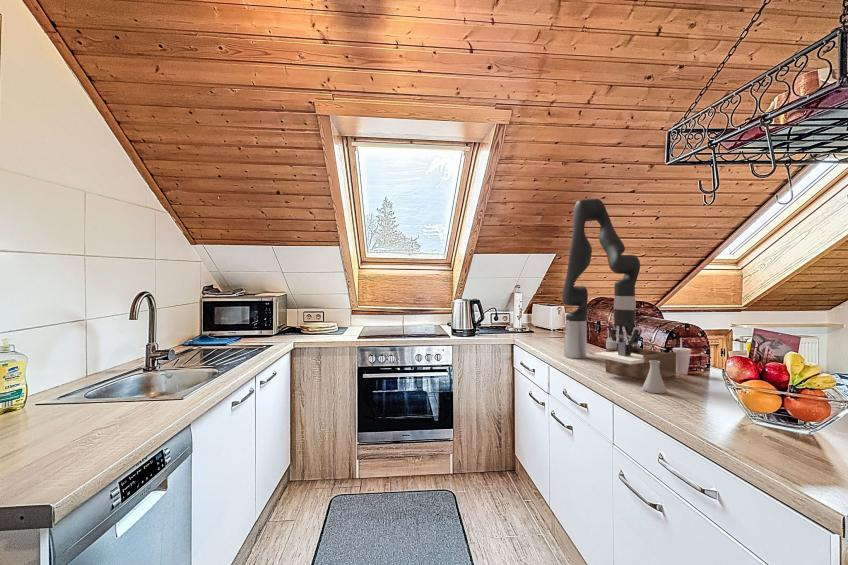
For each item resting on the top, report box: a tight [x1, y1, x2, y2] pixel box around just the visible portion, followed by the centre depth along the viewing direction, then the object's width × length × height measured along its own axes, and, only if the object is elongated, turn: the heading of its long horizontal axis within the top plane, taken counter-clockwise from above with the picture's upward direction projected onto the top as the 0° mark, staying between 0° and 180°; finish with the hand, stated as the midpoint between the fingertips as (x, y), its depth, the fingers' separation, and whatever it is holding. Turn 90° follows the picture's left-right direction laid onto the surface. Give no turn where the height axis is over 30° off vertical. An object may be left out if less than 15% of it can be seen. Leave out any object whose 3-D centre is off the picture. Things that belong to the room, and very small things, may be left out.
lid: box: [593, 340, 645, 364], centre depth 161 cm, size 17×13×6 cm
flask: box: [641, 360, 668, 394], centre depth 142 cm, size 7×7×10 cm
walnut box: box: [605, 345, 677, 383], centre depth 165 cm, size 18×16×10 cm
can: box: [605, 336, 625, 349], centre depth 183 cm, size 8×8×12 cm
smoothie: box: [672, 337, 692, 376], centre depth 167 cm, size 6×6×14 cm
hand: (624, 353), depth 161 cm, fingers closed on lid, 3 cm apart
